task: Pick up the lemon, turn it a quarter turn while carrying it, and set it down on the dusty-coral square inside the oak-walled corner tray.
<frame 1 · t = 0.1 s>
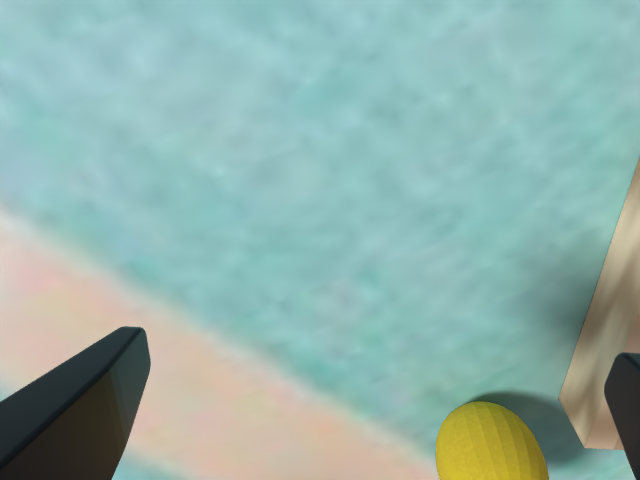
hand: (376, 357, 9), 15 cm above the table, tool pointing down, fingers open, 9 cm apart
lemon: (470, 404, 30), on the table
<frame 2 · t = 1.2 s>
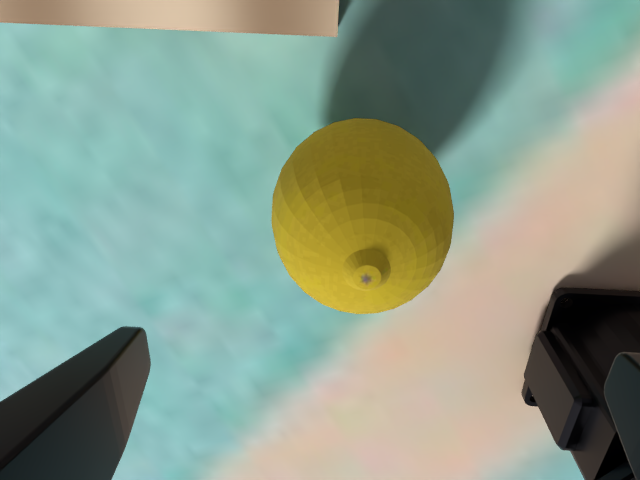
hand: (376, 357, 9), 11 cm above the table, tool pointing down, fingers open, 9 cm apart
lemon: (356, 167, 19), on the table
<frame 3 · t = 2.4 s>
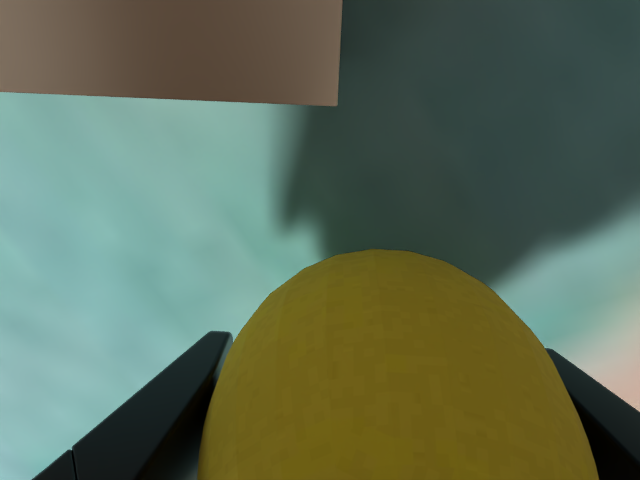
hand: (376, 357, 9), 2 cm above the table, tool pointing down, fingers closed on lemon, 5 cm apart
lemon: (370, 292, 11), on the table, touching gripper
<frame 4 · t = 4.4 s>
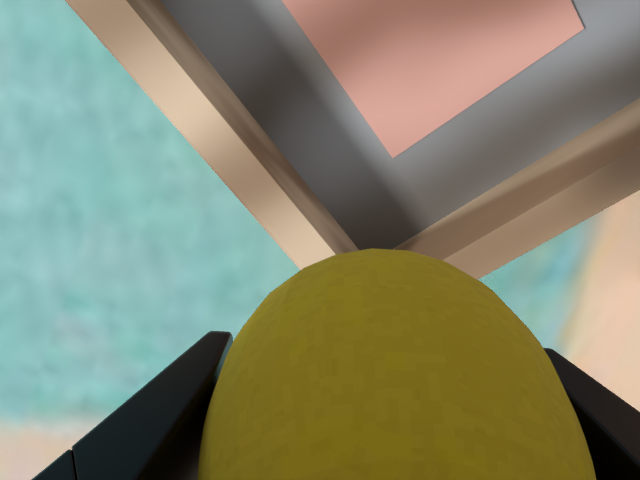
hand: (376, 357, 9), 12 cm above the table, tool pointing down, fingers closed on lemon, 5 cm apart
arena: (423, 3, 17), on the table
lemon: (369, 292, 11), point 10 cm above the table, touching gripper
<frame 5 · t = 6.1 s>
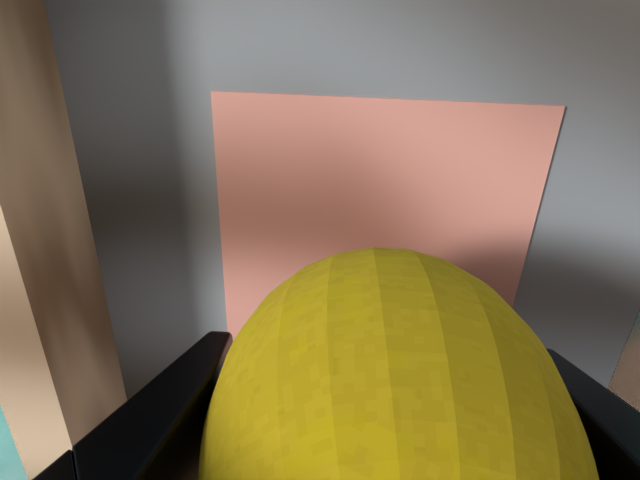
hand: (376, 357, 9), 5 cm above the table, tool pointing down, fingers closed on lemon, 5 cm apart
arena: (370, 242, 13), on the table
lemon: (369, 291, 11), point 2 cm above the table, touching gripper
when the fingers open (4 cm above the table, at t = 6.7 s): lemon drops 1 cm, resting on arena.
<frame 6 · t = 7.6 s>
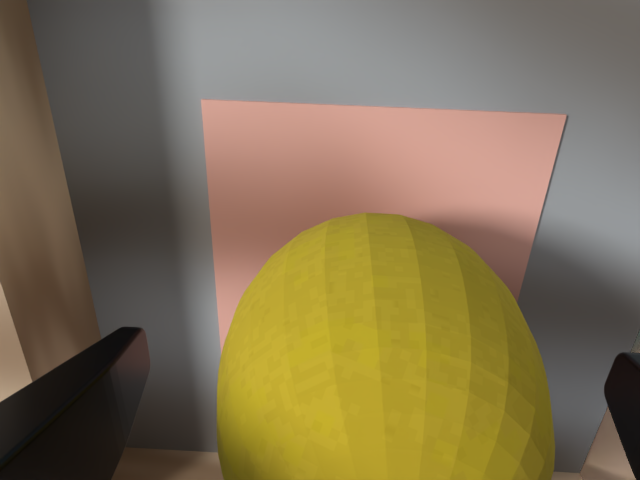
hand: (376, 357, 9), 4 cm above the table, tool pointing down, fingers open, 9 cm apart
arena: (367, 253, 13), on the table
lemon: (365, 265, 13), resting on arena
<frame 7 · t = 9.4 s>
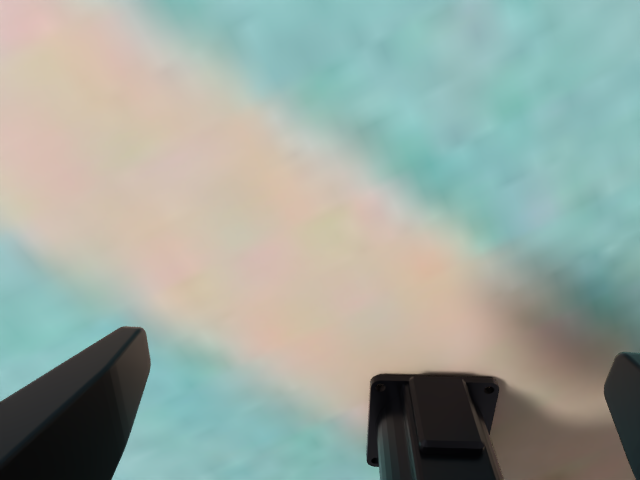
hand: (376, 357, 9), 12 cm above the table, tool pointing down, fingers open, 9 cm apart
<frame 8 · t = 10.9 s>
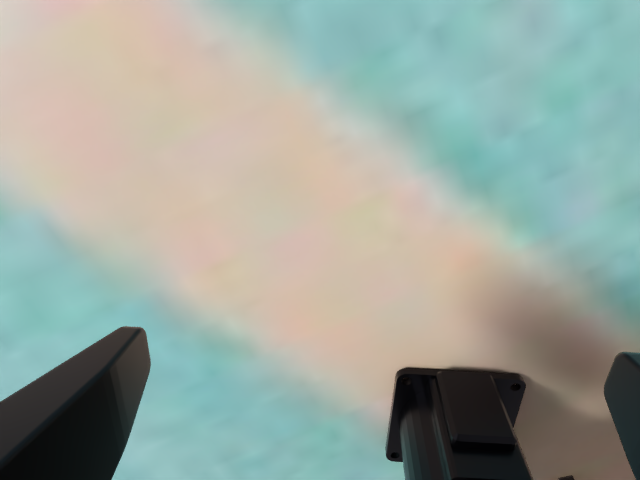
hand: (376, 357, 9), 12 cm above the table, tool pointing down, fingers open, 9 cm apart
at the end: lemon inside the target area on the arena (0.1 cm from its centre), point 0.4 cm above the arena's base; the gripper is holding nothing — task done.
